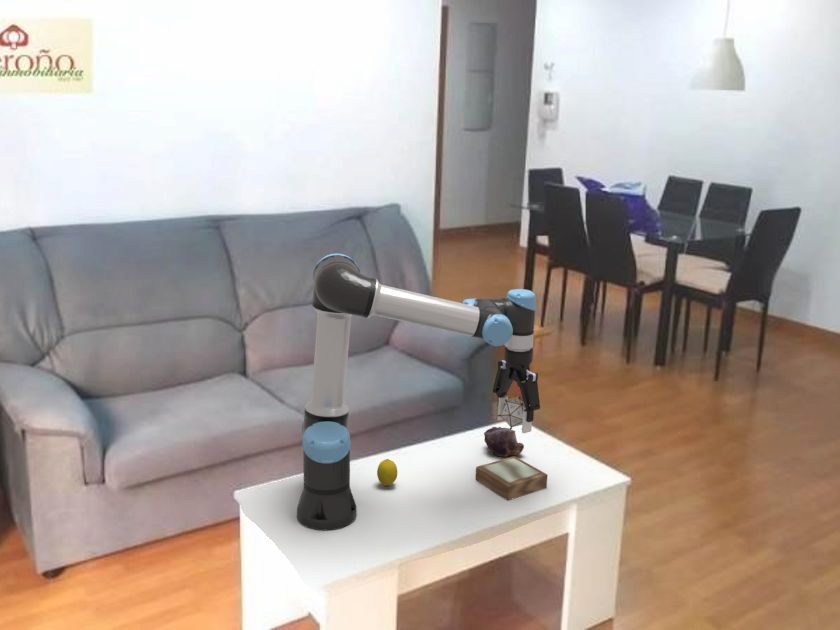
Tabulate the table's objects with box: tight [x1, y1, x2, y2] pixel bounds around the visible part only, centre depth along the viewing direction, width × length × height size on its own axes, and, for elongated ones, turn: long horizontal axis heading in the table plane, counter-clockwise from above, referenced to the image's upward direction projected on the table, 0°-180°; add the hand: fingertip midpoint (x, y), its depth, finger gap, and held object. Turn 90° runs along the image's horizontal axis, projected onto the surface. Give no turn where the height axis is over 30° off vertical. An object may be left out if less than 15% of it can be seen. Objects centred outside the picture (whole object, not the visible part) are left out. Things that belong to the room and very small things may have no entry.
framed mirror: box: [475, 455, 548, 501], centre depth 240 cm, size 14×14×4 cm
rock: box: [483, 426, 525, 458], centre depth 258 cm, size 12×9×10 cm
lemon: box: [376, 458, 398, 487], centre depth 236 cm, size 6×6×8 cm
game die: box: [497, 395, 525, 430], centre depth 234 cm, size 9×8×10 cm
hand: (514, 425), depth 236 cm, fingers closed on game die, 9 cm apart
